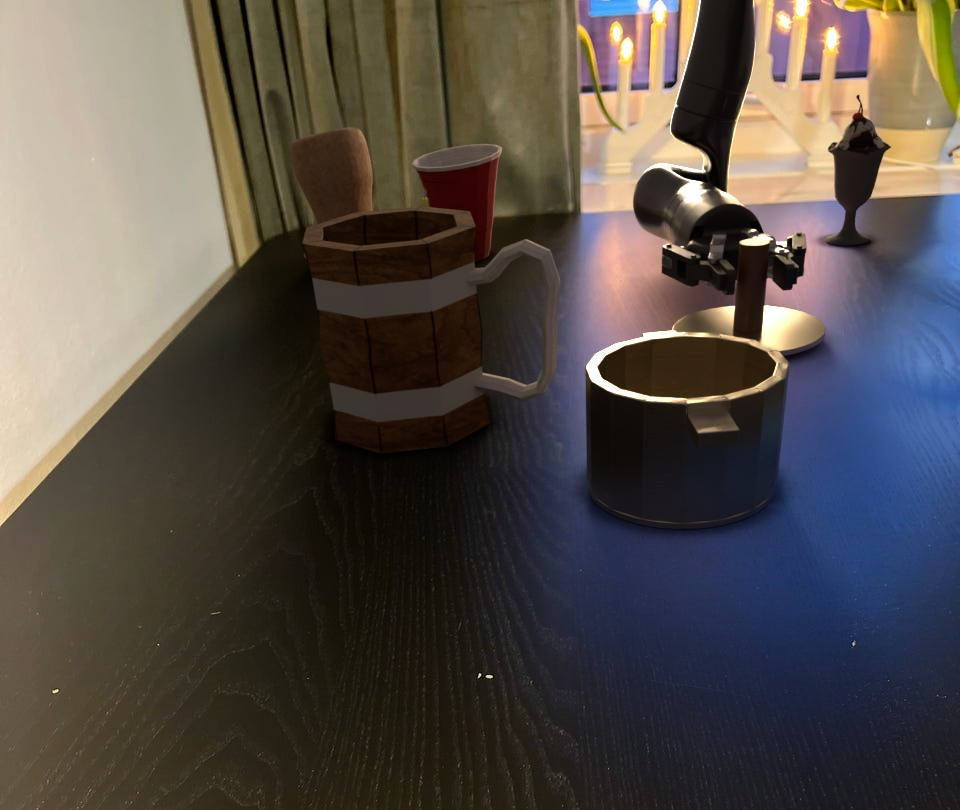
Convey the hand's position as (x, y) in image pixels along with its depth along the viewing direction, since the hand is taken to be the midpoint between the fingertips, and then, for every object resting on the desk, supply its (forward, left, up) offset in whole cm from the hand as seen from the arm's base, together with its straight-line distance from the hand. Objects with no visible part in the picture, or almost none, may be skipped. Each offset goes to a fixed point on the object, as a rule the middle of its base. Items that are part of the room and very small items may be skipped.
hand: (760, 280), depth 85 cm
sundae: (-20, -34, -6) cm, 40 cm away
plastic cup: (+25, -42, -6) cm, 49 cm away
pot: (+12, +25, -6) cm, 29 cm away
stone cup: (+40, -47, -6) cm, 62 cm away
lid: (0, -3, -5) cm, 6 cm away
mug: (+28, +10, -6) cm, 30 cm away
